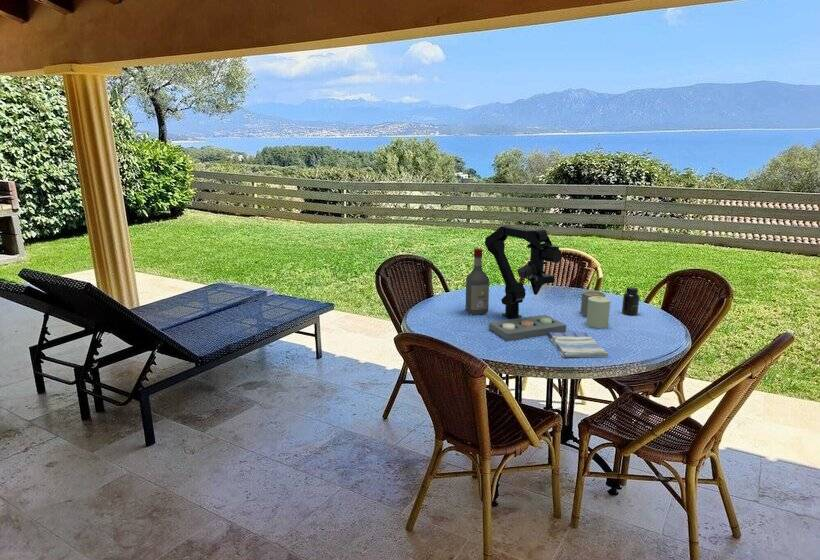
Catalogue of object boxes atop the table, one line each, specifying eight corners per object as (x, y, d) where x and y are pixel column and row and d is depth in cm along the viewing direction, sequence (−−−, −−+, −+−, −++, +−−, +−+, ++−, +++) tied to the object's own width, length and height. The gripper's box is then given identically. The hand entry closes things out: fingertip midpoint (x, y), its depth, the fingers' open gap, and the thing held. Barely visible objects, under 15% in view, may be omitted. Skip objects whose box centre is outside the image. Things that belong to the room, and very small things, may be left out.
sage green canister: (607, 322, 231) (609, 295, 228) (609, 329, 223) (611, 301, 220) (585, 320, 234) (587, 294, 231) (586, 327, 225) (588, 300, 222)
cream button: (500, 330, 220) (500, 323, 219) (510, 329, 222) (510, 322, 221) (506, 334, 216) (506, 327, 215) (516, 333, 217) (517, 326, 216)
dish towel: (562, 359, 193) (563, 352, 192) (546, 337, 216) (546, 330, 215) (609, 359, 193) (610, 352, 192) (588, 336, 216) (588, 330, 215)
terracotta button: (518, 327, 223) (519, 321, 222) (528, 326, 225) (529, 319, 224) (525, 331, 219) (525, 324, 218) (535, 330, 220) (535, 323, 219)
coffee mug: (606, 317, 237) (607, 296, 234) (583, 317, 237) (585, 296, 235) (598, 308, 250) (599, 288, 247) (576, 308, 250) (578, 288, 248)
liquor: (490, 314, 244) (492, 250, 236) (472, 316, 241) (474, 252, 233) (480, 308, 252) (482, 246, 245) (463, 310, 249) (464, 248, 241)
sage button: (536, 325, 226) (537, 318, 225) (546, 323, 228) (547, 317, 227) (543, 328, 222) (544, 322, 221) (553, 327, 223) (554, 320, 222)
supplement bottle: (635, 316, 238) (637, 291, 235) (619, 313, 242) (622, 288, 239) (639, 312, 243) (642, 287, 240) (624, 310, 247) (626, 285, 244)
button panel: (488, 329, 224) (489, 322, 223) (545, 321, 233) (545, 314, 233) (507, 341, 210) (507, 334, 210) (565, 331, 220) (566, 325, 219)
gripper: (509, 256, 229) (507, 291, 233) (533, 265, 213) (531, 302, 216) (531, 254, 233) (529, 288, 237) (556, 263, 216) (554, 299, 220)
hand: (535, 294), depth 228 cm, fingers closed
